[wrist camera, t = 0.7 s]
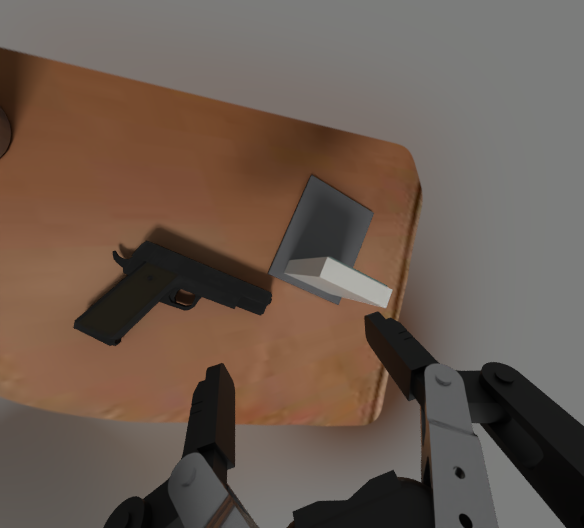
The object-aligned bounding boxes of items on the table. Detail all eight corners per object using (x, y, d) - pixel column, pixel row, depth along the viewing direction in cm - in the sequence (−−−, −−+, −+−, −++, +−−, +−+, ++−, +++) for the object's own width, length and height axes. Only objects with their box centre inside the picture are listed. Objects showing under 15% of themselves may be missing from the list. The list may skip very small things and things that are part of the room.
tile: (330, 293, 34) (385, 308, 22) (283, 273, 32) (319, 276, 20) (335, 280, 34) (393, 287, 23) (290, 258, 32) (328, 254, 20)
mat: (336, 304, 35) (338, 304, 34) (267, 273, 32) (268, 273, 31) (371, 214, 37) (373, 213, 36) (310, 176, 34) (311, 175, 33)
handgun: (238, 384, 28) (276, 295, 29) (60, 334, 23) (118, 228, 24) (236, 373, 31) (271, 292, 32) (77, 327, 25) (129, 232, 27)
